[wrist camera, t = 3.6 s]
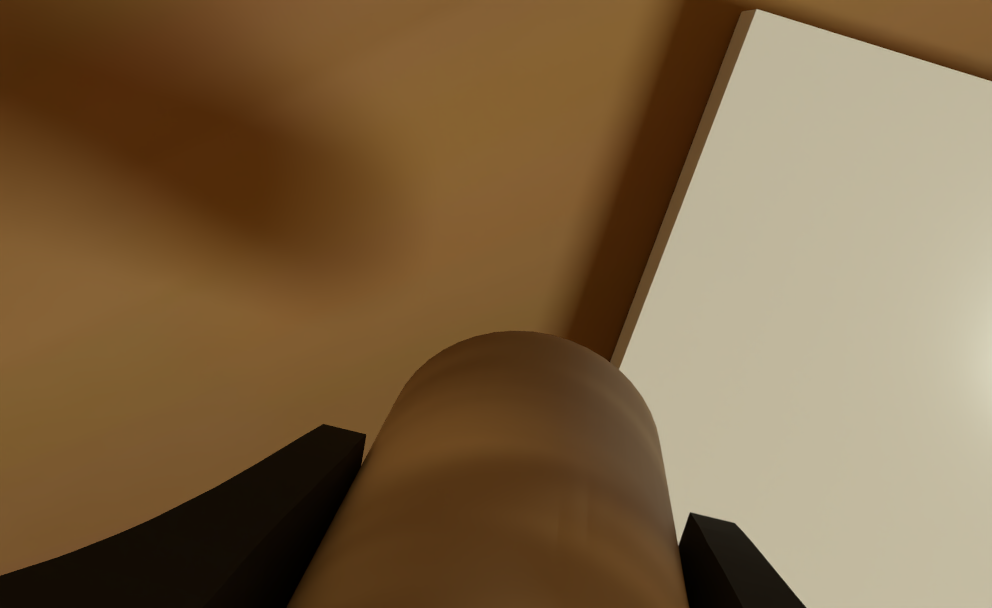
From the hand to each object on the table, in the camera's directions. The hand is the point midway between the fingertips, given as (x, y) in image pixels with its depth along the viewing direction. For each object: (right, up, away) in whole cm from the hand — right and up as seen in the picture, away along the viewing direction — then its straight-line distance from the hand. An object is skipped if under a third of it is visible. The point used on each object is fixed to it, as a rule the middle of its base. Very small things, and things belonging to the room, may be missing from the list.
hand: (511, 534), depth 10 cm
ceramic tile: (+8, -2, +9) cm, 12 cm away
